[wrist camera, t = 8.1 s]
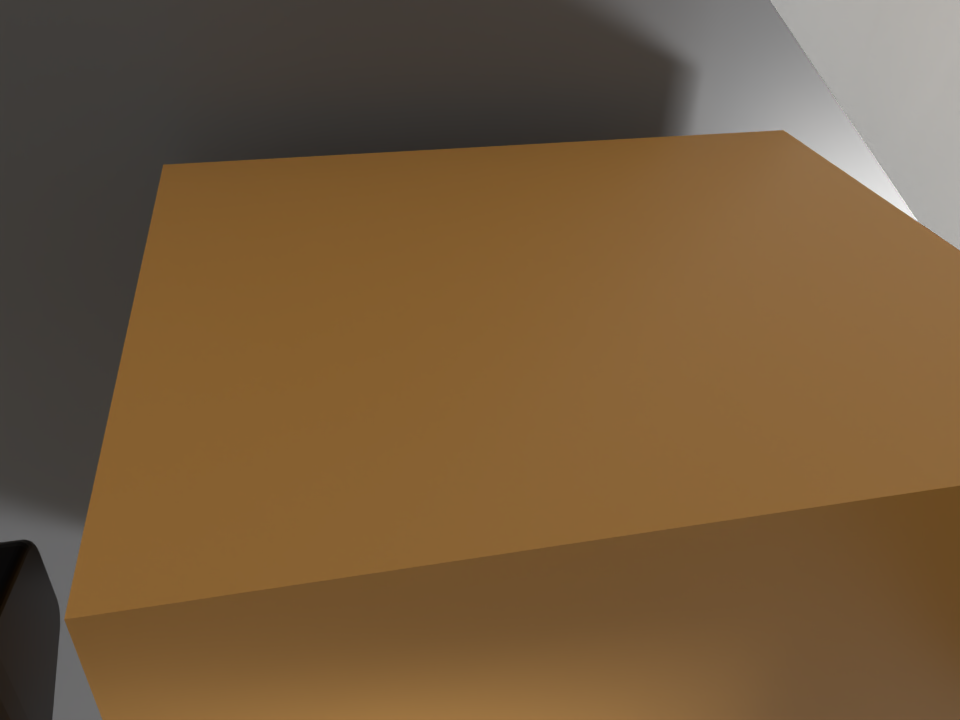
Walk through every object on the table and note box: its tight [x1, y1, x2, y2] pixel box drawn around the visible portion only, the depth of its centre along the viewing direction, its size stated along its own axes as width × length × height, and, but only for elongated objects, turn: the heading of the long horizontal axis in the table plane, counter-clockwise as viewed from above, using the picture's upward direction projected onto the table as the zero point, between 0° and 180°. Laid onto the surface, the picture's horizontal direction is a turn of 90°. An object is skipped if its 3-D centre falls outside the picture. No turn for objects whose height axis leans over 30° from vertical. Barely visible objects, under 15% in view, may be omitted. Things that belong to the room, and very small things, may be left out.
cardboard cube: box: [64, 130, 960, 720], centre depth 8 cm, size 6×6×5 cm
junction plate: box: [0, 0, 918, 720], centre depth 12 cm, size 18×12×2 cm, turn 134°
